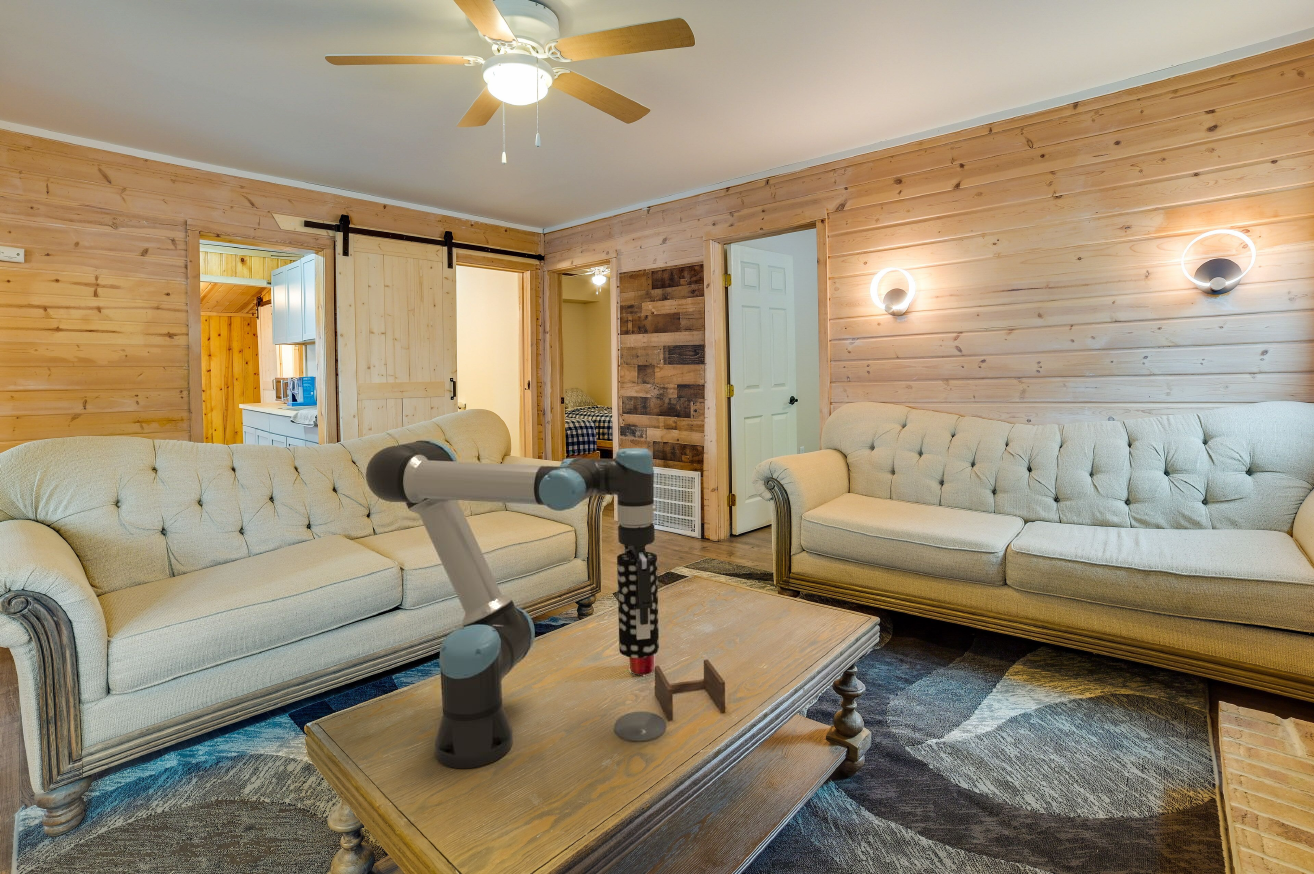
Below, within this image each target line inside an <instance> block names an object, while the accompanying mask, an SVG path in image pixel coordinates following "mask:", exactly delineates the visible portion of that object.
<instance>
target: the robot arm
mask: <svg viewBox="0 0 1314 874" xmlns="http://www.w3.org/2000/svg"><path fill="white" fill-rule="evenodd" d="M453 452H454V451H452V450H451V448H450V447H448V446H447V445H445V443H442V442H440V441H438V440H437V441H436V440H427V439H425V440H424V439H421V440H415V441H412V442H408V443H402V444H398V445H391V446H386V447H385V448H382V449H381V450H379V451H377V452H376V453H375V454H373V456H372V457H371V458H370V460H369V462H368V463H367V467H366V471H365V481H366V484H367V487H368V488H369V490H370V491H371V492H372V493H373V495H374V496H375V497H377V498H378V499H381V500H383V501H384V502H385V501H386V502H389V503H405V505H406V506H407V509H408V511H410V512H411V513H413V514H414V513H415V514H417V515H418V516H419V517H420V519H421V522H422V523H423V527H424V528H425V530H426V532H427V534H428V536H429V538H430V541H431V543H432V545H433V547H434V549H435V552H436V553H437V556H438V558H439V560H440V562H441V564H442V566H443V569H444V571H445V573H446V576H447V577H448V579H449V582H450V583H451V585H452V588H453V590H454V592H455V595H456V596H457V599H458V601H459V602H460V604H461V607H462V609H463V611H464V616H463V620H462V622H461V624H462V626H463V628H457V629H455V630H454V631H453V632H451V633H449V634H448V635H447V636H446V637H445V638H444V639H443V640H442V642H441V645H440V648H439V651H440V652H439V659H438V661H439V662H438V665H439V670H440V671H439V672H440V685H441V687H440V688H441V703H442V704H441V705H442V717H441V721H440V724H439V727H438V730H437V735H436V738H435V742H434V750H435V751H434V752H435V758H436V759H437V761H438V762H439V763H440V764H442V765H443V766H446V767H449V768H454V769H474V768H478V767H481V766H486V765H488V764H492V763H493V762H496V761H497V760H499V759H501V758H503V757H504V756H505V755H506V754H507V753H508V752H509V751H510V749H511V748H512V746H513V742H514V741H513V740H514V739H513V729H512V726H511V723H510V721H509V717H508V716H507V714H506V711H505V709H504V706H503V689H502V687H503V685H502V684H503V683H502V682H503V679H504V678H505V677H506V676H507V675H508V674H509V673H510V672H511V671H512V669H514V668H515V666H516V665H518V664H519V663H520V662H521V661H522V660H523V659H525V657H526V656H527V654H528V653H529V651H530V650H531V648H532V647H533V645H534V641H535V638H536V637H535V635H536V634H535V631H536V630H535V625H534V621H533V619H532V618H531V616H530V615H529V613H528V612H527V611H525V610H524V609H521V608H520V607H518V606H516V605H515V603H514V601H513V599H512V597H509V596H507V595H503V593H502V592H501V589H500V588H499V586H498V584H497V581H496V579H495V577H494V575H493V573H492V571H491V568H490V567H489V566H490V565H489V564H488V562H487V560H486V558H485V556H484V554H483V552H482V550H481V547H480V545H479V543H478V541H477V538H476V536H475V535H474V532H473V531H472V528H471V526H470V524H469V522H468V520H467V517H466V516H465V513H464V511H463V509H462V506H461V505H460V502H459V501H467V502H484V503H485V502H486V503H501V504H516V505H517V504H518V505H519V504H520V505H533V506H535V505H536V506H538V505H539V506H546V507H547V508H548V509H550V510H552V511H557V512H560V511H561V512H562V511H563V512H564V511H566V510H571V509H573V508H575V507H576V506H577V505H579V504H580V503H582V502H584V501H585V500H587V499H588V498H590V497H591V496H595V495H597V496H598V495H599V496H601V495H604V496H605V495H606V496H607V495H608V496H617V497H616V498H617V503H616V506H617V507H616V508H617V511H616V512H617V523H619V525H618V526H617V532H618V533H617V538H618V542H619V543H620V544H621V545H623V547H624V553H626V556H628V558H629V560H633V559H634V561H636V562H637V578H638V582H636V599H637V606H634V610H635V609H636V638H637V640H639V639H648V638H650V608H652V607H653V604H652V592H651V576H650V562H651V560H650V558H648V552H649V551H646V546H648V545H651V544H653V543H654V542H655V540H656V537H655V524H654V521H655V514H654V512H655V511H657V506H656V505H655V500H654V499H655V498H654V495H655V494H654V492H655V491H654V488H655V487H654V486H655V485H654V474H655V469H654V461H653V453H652V452H651V450H650V449H647V448H641V447H640V448H639V447H633V448H621V449H619V450H618V449H617V451H616V453H615V455H616V456H615V458H614V457H613V458H588V457H587V458H585V457H583V458H582V457H575V458H566V459H563V460H562V461H561V463H560V464H559V466H555V465H554V466H553V465H552V466H551V465H533V464H530V465H529V464H515V463H514V464H513V463H512V464H511V463H509V464H508V463H493V462H492V463H491V462H489V463H488V462H473V461H472V462H470V461H469V462H468V461H458V460H457V458H456V455H455V454H454V453H453Z"/></svg>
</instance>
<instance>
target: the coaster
mask: <svg viewBox="0 0 1314 874" xmlns="http://www.w3.org/2000/svg"><path fill="white" fill-rule="evenodd" d="M613 728H614V733H615V734H616V736H617V737H619V738H620V739H622V740H625V741H629V742H631V743H632V742H634V743H644V742H645V743H646V742H650V741H654V740H657V739H658V738H660V737H661V736H663V734H664V733H665V732H666V729H667V722H666V720H665V719H664V718H663V717H662V716H661V715H660V714H657V713H653V712H650V711H649V712H648V711H632V712H630V713H626V714H624V715H621V716H620V717H618V719H616V721H615V722H614V727H613Z"/></svg>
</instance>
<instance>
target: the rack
mask: <svg viewBox="0 0 1314 874" xmlns="http://www.w3.org/2000/svg"><path fill="white" fill-rule="evenodd" d="M653 690H654V695H655V698H656V699H657V702H658V703H659V705H660V707H661V709H662V711H663V713H664V715H665V716H666V719H667V721H668V722H670V721H674V712H673V711H674V705H673V703H674V702H673V699H674V698H673V695H674V694H679V693H685V692H693V691H701V690H705V692H706V693H707V695H708V697H709V698H710V699H711V700H712V702H713V704H714V705H715V707H716V708H717V709H718V711H719V713H720V714H724V713H726V682H725V680H724V679H723V677H722V676H721V675H720V674H719V672H718V671H717V669H715V667H714V666H713V664H712V663H711V662H710V661H709V659H703V678H702V679H694V680H688V681H680V682H672V683H669V681H668V679H667V676H666V675H665V674H664V672H663V670H662V668H660V665H655V666H654V689H653Z"/></svg>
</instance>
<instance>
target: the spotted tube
mask: <svg viewBox="0 0 1314 874" xmlns="http://www.w3.org/2000/svg"><path fill="white" fill-rule="evenodd" d="M647 552H648V558H650V560H651V562H650V576H651V592H652V604H653V607H652V608H650V638H648V639H639V640H637V638H636V609H635V610H634V606H637V599H636V582H638V578H637V562H636V561H634V559H633V560H629V558H628V556H626V553H625V552H622V553H620V554H618V555H617V556H616V562H617V563H616V565H617V566H616V567H617V568H616V569H617V570H616V573H617V602H618V603H617V609H618V611H617V612H618V614H617V615H618V647H619V649H618V650H619V653H620V654H621V655H622V656H625V657H626V658H633V659H642V658H649V657H652V656H654V655H656V654H658V652H659V649H660V643H659V642H660V639H659V638H660V637H659V636H660V635H659V589H658V588H659V584H658V580H659V579H658V578H659V577H658V574H659V573H658V555H657V554H656V553H654V552H650V551H647Z"/></svg>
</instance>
